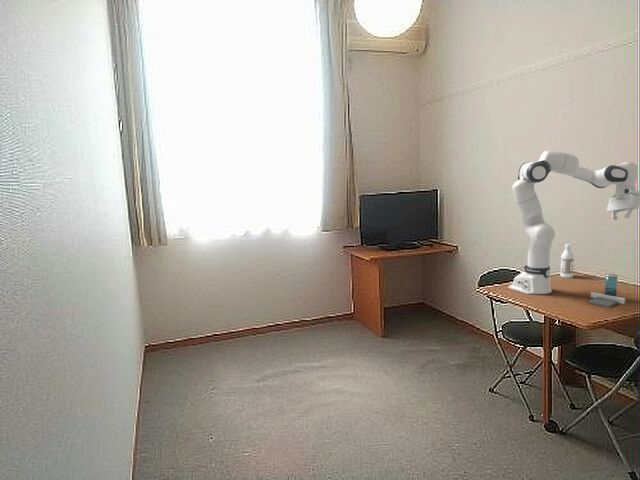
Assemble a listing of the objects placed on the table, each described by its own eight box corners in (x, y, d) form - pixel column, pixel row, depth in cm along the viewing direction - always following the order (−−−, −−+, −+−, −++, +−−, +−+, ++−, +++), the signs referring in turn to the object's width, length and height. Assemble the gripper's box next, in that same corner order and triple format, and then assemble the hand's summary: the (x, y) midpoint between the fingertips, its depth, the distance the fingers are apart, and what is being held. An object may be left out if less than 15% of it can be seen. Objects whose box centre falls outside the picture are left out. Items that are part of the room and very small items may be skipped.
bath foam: (569, 278, 294) (570, 245, 290) (558, 276, 300) (559, 244, 296) (575, 276, 298) (576, 244, 294) (564, 274, 303) (565, 242, 300)
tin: (602, 297, 255) (603, 275, 253) (607, 295, 258) (608, 273, 256) (613, 299, 250) (614, 277, 248) (618, 297, 253) (619, 275, 251)
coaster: (587, 303, 247) (587, 300, 247) (597, 299, 253) (597, 296, 252) (608, 307, 239) (608, 305, 239) (618, 303, 244) (618, 301, 244)
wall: (590, 297, 256) (590, 292, 256) (591, 296, 257) (592, 292, 257) (623, 303, 243) (623, 299, 243) (624, 303, 244) (624, 298, 244)
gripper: (606, 194, 266) (602, 219, 265) (632, 188, 246) (628, 215, 245) (617, 197, 267) (612, 221, 266) (644, 191, 246) (640, 218, 245)
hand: (620, 218), depth 255 cm, fingers open, 8 cm apart
